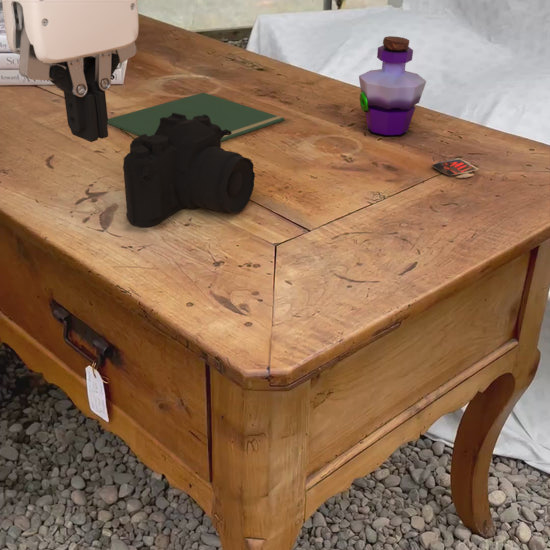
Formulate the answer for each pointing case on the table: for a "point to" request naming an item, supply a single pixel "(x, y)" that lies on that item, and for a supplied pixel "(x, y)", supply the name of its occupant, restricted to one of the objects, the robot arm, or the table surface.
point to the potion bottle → (391, 90)
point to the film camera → (184, 171)
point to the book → (214, 107)
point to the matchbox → (455, 167)
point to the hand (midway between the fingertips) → (89, 135)
